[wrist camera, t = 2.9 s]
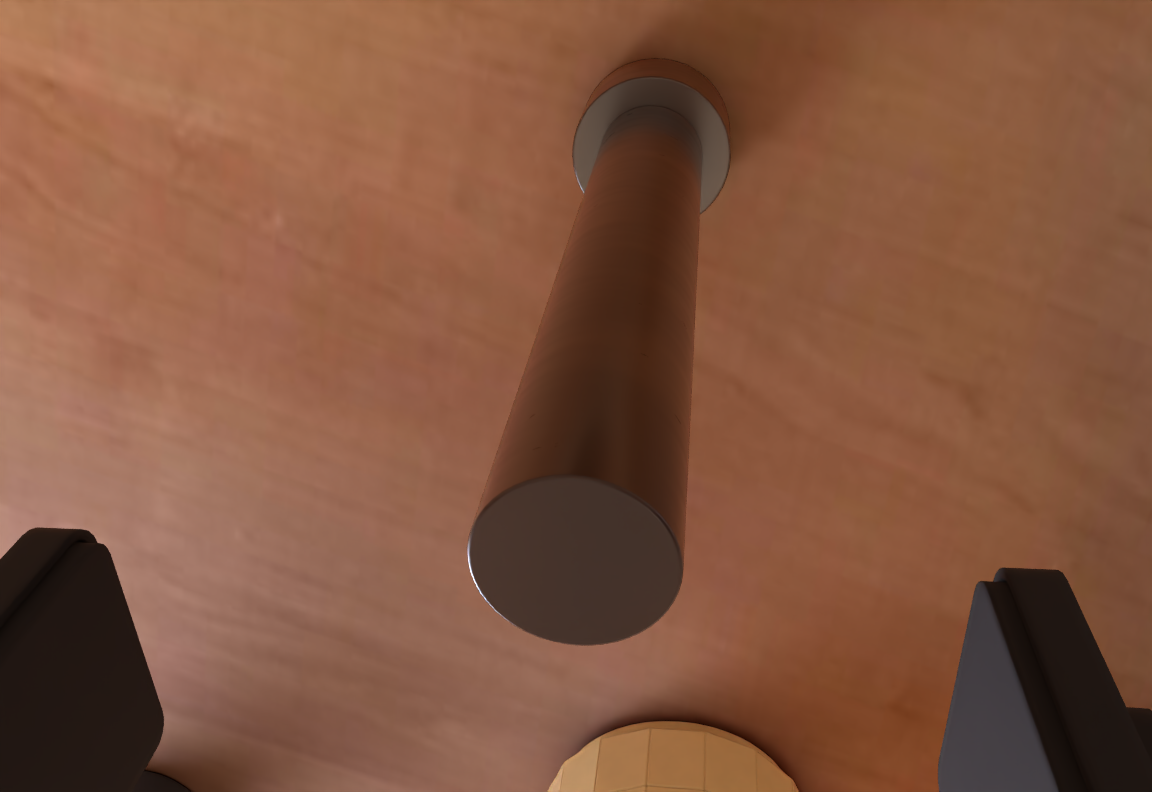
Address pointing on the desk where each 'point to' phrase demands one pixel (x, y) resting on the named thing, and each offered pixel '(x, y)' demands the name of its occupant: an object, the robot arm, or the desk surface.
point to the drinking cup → (157, 784)
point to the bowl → (670, 762)
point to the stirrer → (609, 375)
